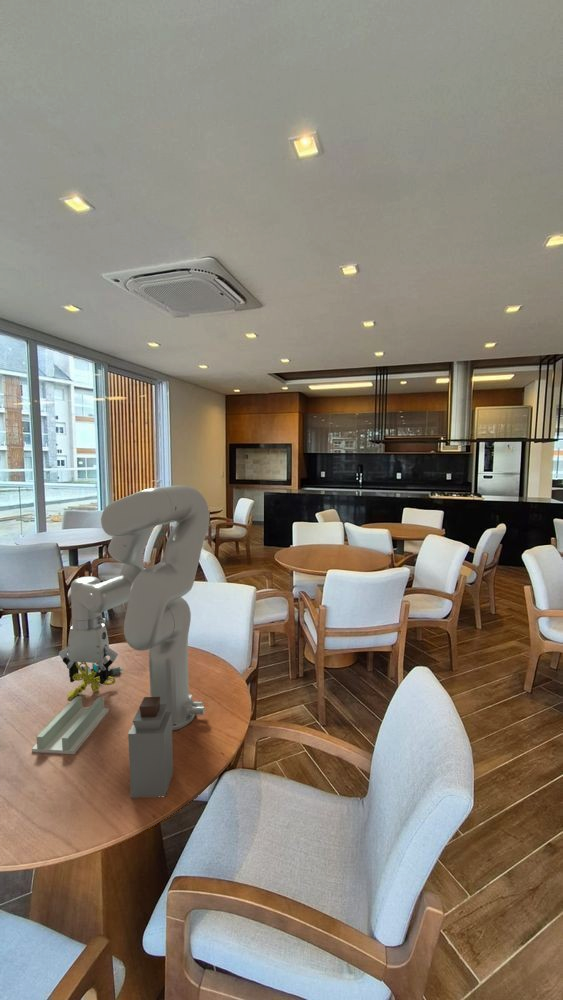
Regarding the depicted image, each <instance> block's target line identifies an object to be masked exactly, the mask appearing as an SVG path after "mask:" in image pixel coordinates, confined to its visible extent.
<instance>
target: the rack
mask: <svg viewBox="0 0 563 1000" xmlns="http://www.w3.org/2000/svg"><path fill="white" fill-rule="evenodd" d="M82 701H83V700H82V696H78V695H77V696H74V697H73V698H72V699H71V701H70V702H69V703H68V704H67V705H66V706H65V707H64V708H63V709H62V710H61V712H59V713H58V714H57V715H56V716H55V717H54V718H53V719H52V720H51V721H50V723H48V724H47V725H46V727H44V728H43V729H42V730H41V732H39V734H38V735H37V736H36V744H35V745H34V746H33V747H32V748H31V753H42V754H43V753H45V754H59V755H60V754H62V755H64V754H65V755H75V754H76V753H77V751H78V750H79V749H80V748H81V747H82V746H83V744H84V743H85V741H87V739H88V738H89V737H90V735H91V734H92V733H93V732H94V730H95V729H96V728H97V727H98V726H99V725H100V723H101V722H102V720H103V719H104V718H105V716H106V715H107V714H108V713H109V709H110V708H108V707H107V708H105V705H104V704H105V703H104V697H102V696H101V697H100V696H99V697H97V698H96V699H95V700H94V701H93V702H92V704H91V705H90V706H89V707H87V706H83V702H82Z"/></svg>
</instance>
